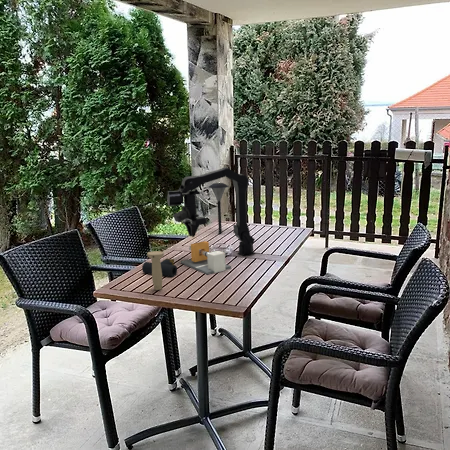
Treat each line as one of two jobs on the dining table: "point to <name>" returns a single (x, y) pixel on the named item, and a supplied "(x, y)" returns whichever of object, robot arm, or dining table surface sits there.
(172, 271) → the pipe connector
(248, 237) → the robot arm
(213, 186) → the solar garden light
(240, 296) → the dining table surface
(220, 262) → the block
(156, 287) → the handle
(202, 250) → the pipe
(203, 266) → the mat
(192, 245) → the collar
